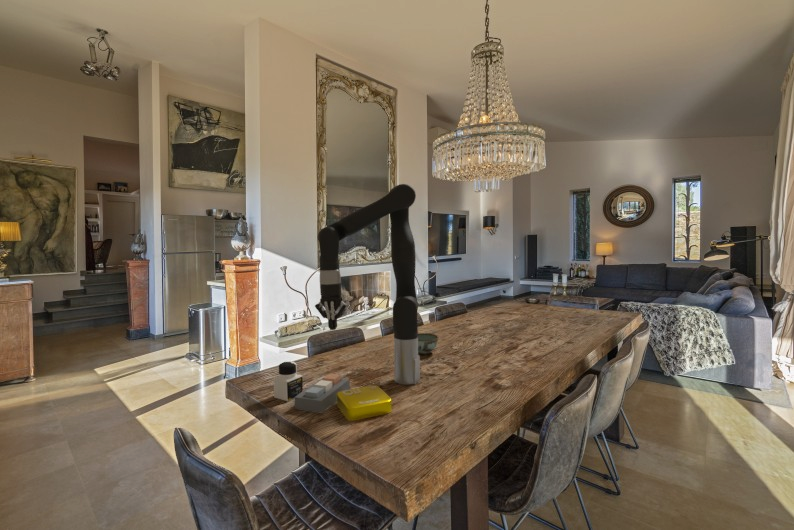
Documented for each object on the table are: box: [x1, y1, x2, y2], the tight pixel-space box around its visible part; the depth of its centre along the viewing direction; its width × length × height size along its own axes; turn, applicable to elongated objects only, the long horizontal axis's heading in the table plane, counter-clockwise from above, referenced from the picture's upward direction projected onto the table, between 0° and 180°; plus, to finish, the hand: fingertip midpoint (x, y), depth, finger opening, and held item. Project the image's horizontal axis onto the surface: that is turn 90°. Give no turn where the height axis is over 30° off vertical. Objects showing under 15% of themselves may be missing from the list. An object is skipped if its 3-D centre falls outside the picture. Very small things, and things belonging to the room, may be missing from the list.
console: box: [294, 375, 351, 414], centre depth 134 cm, size 10×20×4 cm, turn 161°
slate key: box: [305, 387, 324, 398], centre depth 128 cm, size 4×4×4 cm
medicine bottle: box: [273, 360, 304, 402], centre depth 136 cm, size 7×7×12 cm
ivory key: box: [314, 379, 332, 391], centre depth 133 cm, size 4×4×4 cm
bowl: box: [418, 332, 439, 355], centre depth 187 cm, size 14×13×8 cm
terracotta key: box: [322, 373, 341, 385], centre depth 139 cm, size 4×4×4 cm
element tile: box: [336, 384, 393, 422], centre depth 127 cm, size 15×15×5 cm
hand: (332, 329), depth 141 cm, fingers closed
